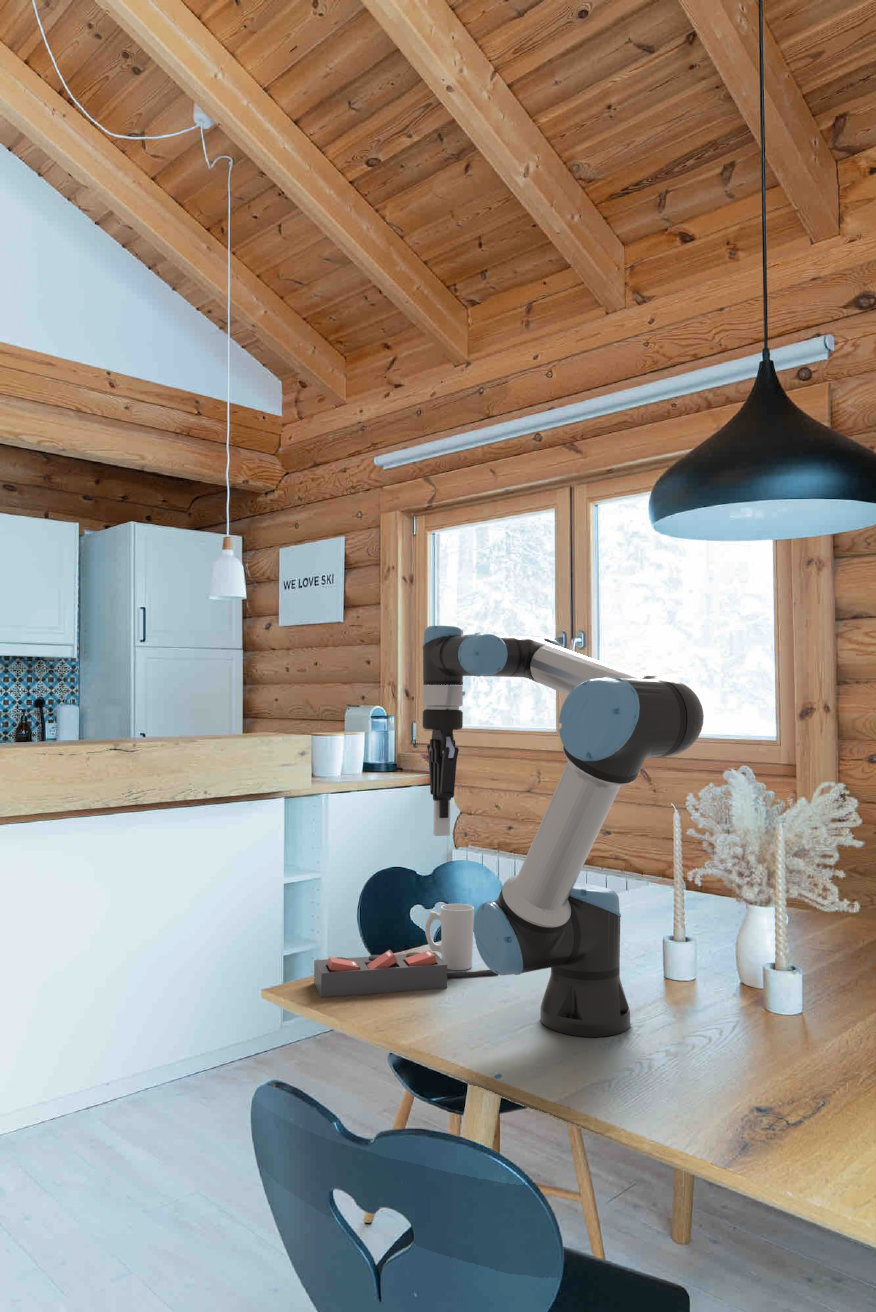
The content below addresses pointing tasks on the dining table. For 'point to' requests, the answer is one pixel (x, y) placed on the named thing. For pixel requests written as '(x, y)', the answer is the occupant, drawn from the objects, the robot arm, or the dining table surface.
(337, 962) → the rocker
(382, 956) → the rocker
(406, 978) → the switch panel
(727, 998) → the dining table surface
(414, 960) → the rocker
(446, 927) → the mug
